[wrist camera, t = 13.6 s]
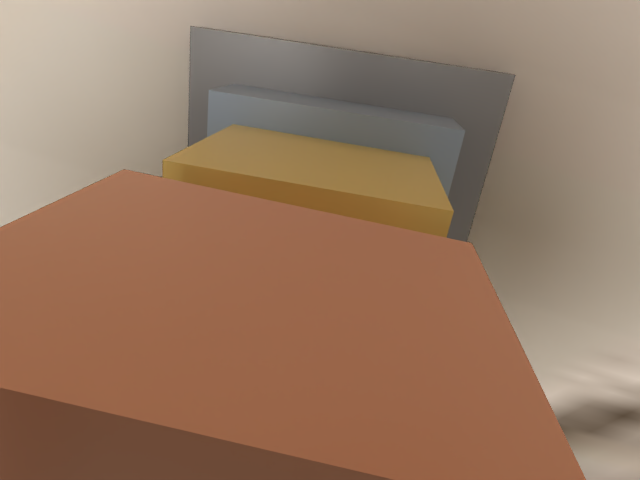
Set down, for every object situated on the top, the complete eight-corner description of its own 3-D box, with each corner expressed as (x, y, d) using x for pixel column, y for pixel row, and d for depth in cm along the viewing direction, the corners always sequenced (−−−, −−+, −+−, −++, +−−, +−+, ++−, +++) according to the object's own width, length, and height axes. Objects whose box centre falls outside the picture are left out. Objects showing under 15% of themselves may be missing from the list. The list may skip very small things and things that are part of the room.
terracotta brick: (122, 427, 9) (-82, 728, 5) (124, 169, 7) (-228, 334, 3) (385, 489, 9) (392, 852, 5) (472, 243, 7) (609, 529, 3)
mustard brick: (222, 293, 15) (161, 386, 11) (233, 124, 13) (162, 159, 9) (388, 325, 15) (391, 433, 10) (429, 157, 12) (453, 211, 8)
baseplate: (190, 293, 19) (157, 336, 16) (197, 26, 15) (155, 22, 12) (434, 338, 18) (443, 390, 15) (510, 74, 14) (541, 79, 11)
